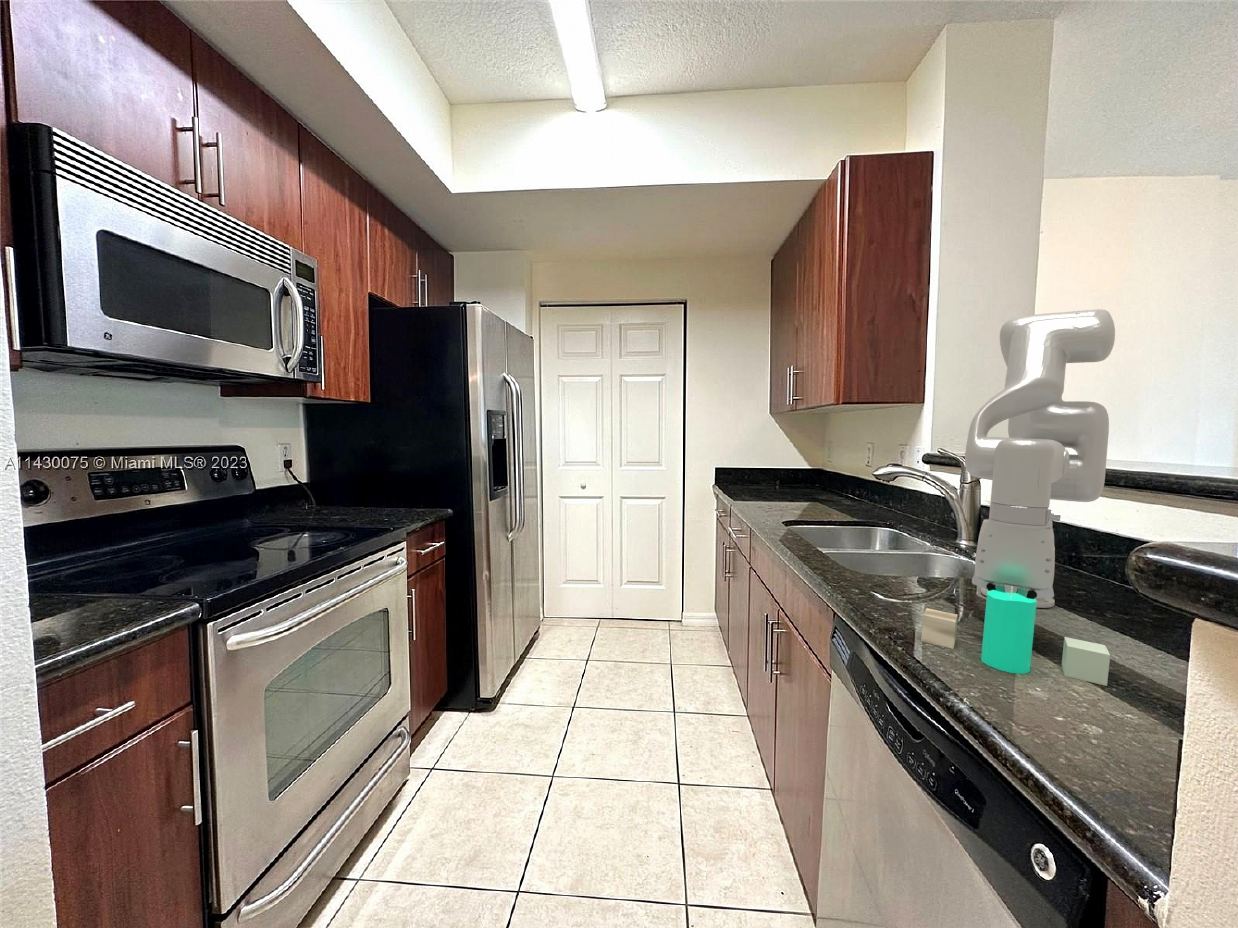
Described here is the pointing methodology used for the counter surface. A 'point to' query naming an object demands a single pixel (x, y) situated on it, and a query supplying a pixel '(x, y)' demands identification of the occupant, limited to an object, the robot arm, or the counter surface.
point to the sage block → (1085, 661)
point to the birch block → (939, 628)
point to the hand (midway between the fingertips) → (1007, 625)
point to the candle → (1008, 631)
